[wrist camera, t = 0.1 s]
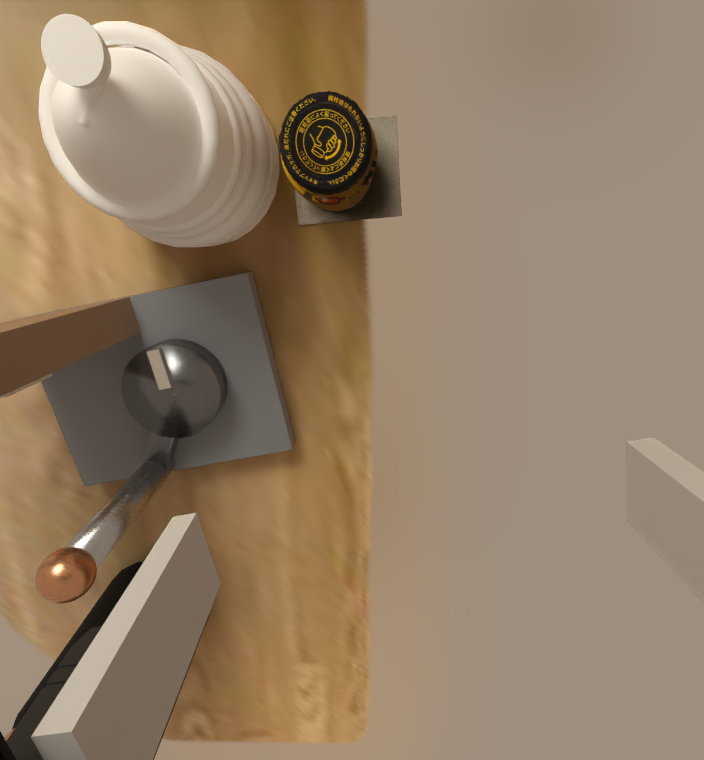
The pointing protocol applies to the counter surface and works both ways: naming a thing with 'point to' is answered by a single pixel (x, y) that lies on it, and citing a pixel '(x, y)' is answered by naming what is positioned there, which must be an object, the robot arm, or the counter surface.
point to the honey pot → (155, 133)
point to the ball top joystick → (166, 423)
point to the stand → (125, 340)
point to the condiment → (340, 160)
